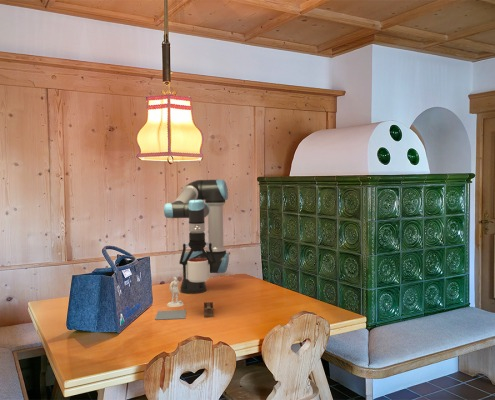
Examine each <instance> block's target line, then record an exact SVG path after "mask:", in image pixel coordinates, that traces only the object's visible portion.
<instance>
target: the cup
mask: <svg viewBox="0 0 495 400" xmlns="http://www.w3.org/2000/svg"><path fill="white" fill-rule="evenodd" d="M187 272H188V280H189V281H190V282H204V281H205V282H207V281H208V280H209V278H208V260H207V259H203V258H196V259H189V260H188V261H187Z"/></svg>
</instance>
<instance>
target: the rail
mask: <svg viewBox="0 0 495 400" xmlns="http://www.w3.org/2000/svg"><path fill="white" fill-rule="evenodd" d="M214 310H215V309H214V302H211V301H210V302H209V301H208V302H207V301H206V302H203V316H204V318H214V315H215V314H214Z"/></svg>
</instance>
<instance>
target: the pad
mask: <svg viewBox="0 0 495 400" xmlns="http://www.w3.org/2000/svg"><path fill="white" fill-rule="evenodd" d="M186 316H187V309H177V310H175V309H174V310H173V309H172V310H157V312H156V315H155V318H154V321H168V320H185V319H186Z"/></svg>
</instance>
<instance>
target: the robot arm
mask: <svg viewBox="0 0 495 400" xmlns="http://www.w3.org/2000/svg"><path fill="white" fill-rule="evenodd" d="M228 199H229V192H228V186H227V183H226V181H225V180H224V179H218V178H217V179H197V180H193V181H191V182H189V183H187V184H186V185H185V186H184V187H183V188H182V189H181V193H180V194H179V196H178V197H177V198H176V199H175V200H174V201H173V202H167V203H165V204H164V206H163V214H164V215H163V216H164V217H165V218H166V219H188V231H189V233H188V239H189V241H188V243H183V244H182V251H181V255H180V258H179V265H182V281H181V285H180V287H179V288H180V289H179V292H180V293H183V294H201V293H205V292H207V284H206V281H204V282H190V281H189V280H188V272H187V261H188V260H189V259H196V258H203V259H207V260H208V279H210V278H211V274H224V273H226V272H227V270H228V266H229V260H230V253H228V252H227V249H226V248H225V247H224V211H223V210H224V209H223V208H224V205H225V204H226V201H227V200H228ZM206 217H207V230H208V236H207V237H208V238H207V239H208V241H207V242H206V234H205V231H206V228H205V226H206V225H205V222H206V221H205V218H206ZM188 247H189V248H190V250H189V251H187V252H186V249H187V248H188ZM205 247H207V248H206V250H205Z"/></svg>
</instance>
